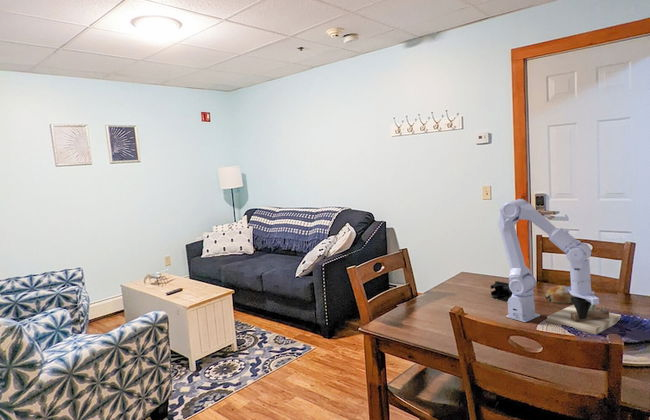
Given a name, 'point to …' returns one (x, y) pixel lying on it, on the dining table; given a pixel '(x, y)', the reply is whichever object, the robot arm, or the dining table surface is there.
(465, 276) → the dining table surface
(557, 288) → the bread roll
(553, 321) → the cutting board
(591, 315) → the walnut leg
